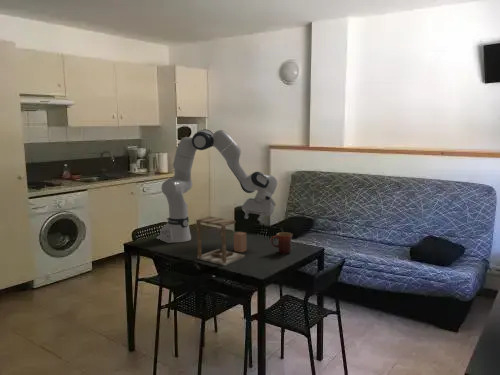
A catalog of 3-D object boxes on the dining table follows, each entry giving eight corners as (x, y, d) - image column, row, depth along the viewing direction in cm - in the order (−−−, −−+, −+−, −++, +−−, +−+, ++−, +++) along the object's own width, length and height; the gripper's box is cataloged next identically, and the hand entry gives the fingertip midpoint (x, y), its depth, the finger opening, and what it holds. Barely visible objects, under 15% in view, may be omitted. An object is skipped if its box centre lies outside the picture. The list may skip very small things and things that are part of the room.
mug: (289, 249, 239) (289, 231, 238) (294, 254, 231) (294, 235, 229) (269, 251, 237) (268, 233, 236) (272, 255, 229) (272, 237, 227)
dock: (197, 258, 225) (196, 219, 222) (218, 251, 238) (217, 213, 235) (224, 265, 214) (223, 224, 211) (244, 257, 227) (244, 218, 224)
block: (234, 250, 238) (233, 233, 237) (239, 248, 242) (239, 231, 241) (241, 252, 235) (240, 234, 234) (246, 250, 239) (246, 232, 238)
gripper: (245, 194, 256) (235, 213, 250) (273, 198, 243) (264, 218, 237) (250, 201, 260) (240, 219, 254) (278, 204, 248) (268, 224, 241)
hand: (252, 219), depth 245 cm, fingers open, 8 cm apart
